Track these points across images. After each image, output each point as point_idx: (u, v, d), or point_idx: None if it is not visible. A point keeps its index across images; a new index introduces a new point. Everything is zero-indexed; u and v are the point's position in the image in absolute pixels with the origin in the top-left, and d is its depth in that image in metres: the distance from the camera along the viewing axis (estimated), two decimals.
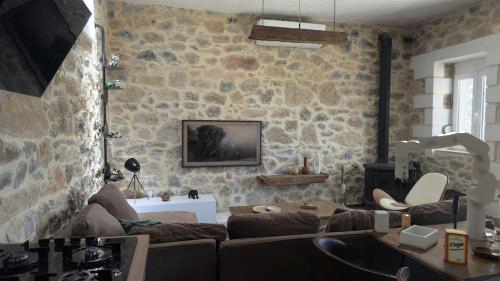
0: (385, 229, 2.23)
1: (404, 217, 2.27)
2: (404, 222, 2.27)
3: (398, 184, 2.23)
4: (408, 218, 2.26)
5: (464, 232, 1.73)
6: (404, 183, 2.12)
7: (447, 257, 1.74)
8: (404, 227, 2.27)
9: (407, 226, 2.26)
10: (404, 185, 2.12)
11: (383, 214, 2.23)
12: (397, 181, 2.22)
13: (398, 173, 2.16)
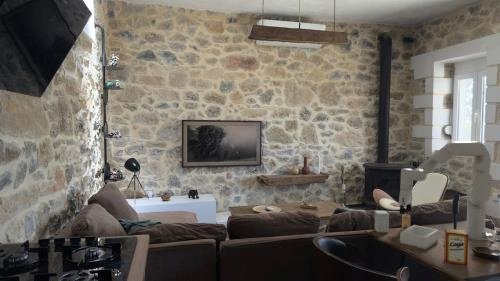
0: (385, 229, 2.23)
1: (404, 217, 2.27)
2: (404, 222, 2.27)
3: None
4: (408, 218, 2.26)
5: (464, 232, 1.73)
6: None
7: (447, 257, 1.74)
8: (404, 227, 2.27)
9: (407, 226, 2.26)
10: None
11: (383, 214, 2.23)
12: None
13: (410, 199, 2.27)
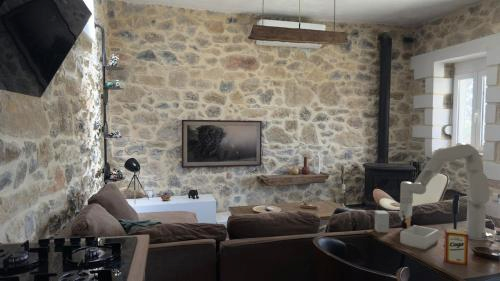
0: (385, 229, 2.23)
1: (404, 217, 2.27)
2: None
3: None
4: (408, 218, 2.26)
5: (464, 232, 1.73)
6: None
7: (447, 257, 1.74)
8: None
9: (407, 226, 2.26)
10: None
11: (383, 214, 2.23)
12: None
13: (410, 212, 2.27)
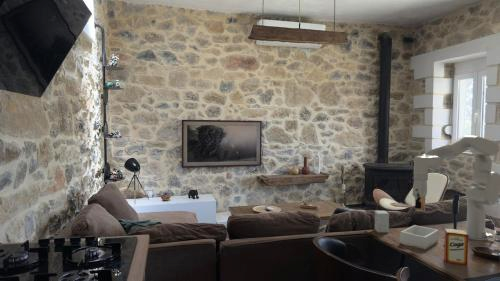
0: (385, 229, 2.23)
1: None
2: None
3: None
4: (423, 197, 2.01)
5: (464, 232, 1.73)
6: None
7: (447, 257, 1.74)
8: None
9: (421, 206, 2.01)
10: None
11: (383, 214, 2.23)
12: None
13: (425, 190, 2.02)
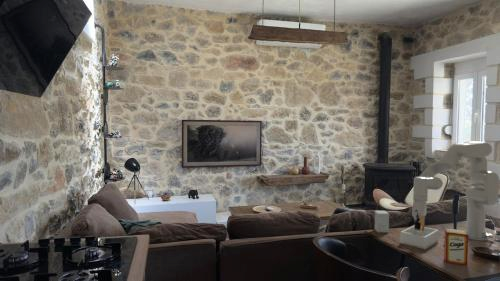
0: (385, 229, 2.23)
1: None
2: None
3: None
4: (422, 218, 2.01)
5: (464, 232, 1.73)
6: None
7: (447, 257, 1.74)
8: None
9: (421, 227, 2.01)
10: None
11: (383, 214, 2.23)
12: None
13: (425, 211, 2.03)
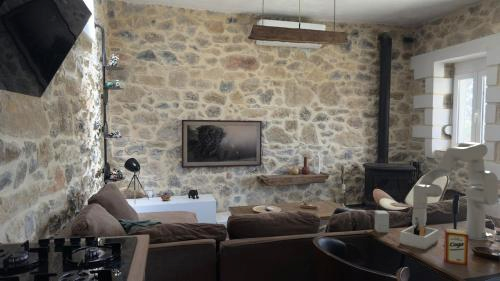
0: (385, 229, 2.23)
1: None
2: None
3: None
4: (422, 228, 2.01)
5: (464, 232, 1.73)
6: None
7: (447, 257, 1.74)
8: None
9: None
10: None
11: (383, 214, 2.23)
12: None
13: (425, 219, 2.03)
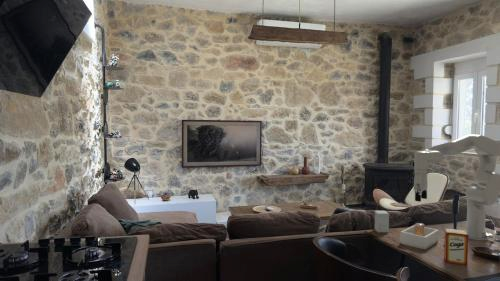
0: (385, 229, 2.23)
1: (417, 227, 2.02)
2: (417, 232, 2.02)
3: None
4: (422, 228, 2.01)
5: (464, 232, 1.73)
6: None
7: (447, 257, 1.74)
8: None
9: None
10: None
11: (383, 214, 2.23)
12: None
13: (426, 185, 2.06)
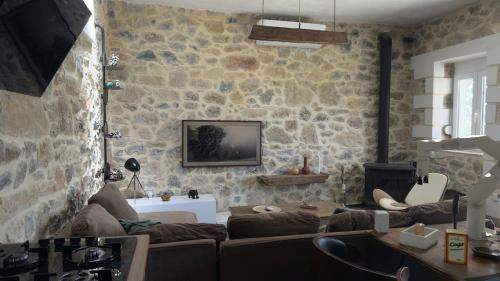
0: (385, 229, 2.23)
1: (417, 227, 2.02)
2: (417, 232, 2.02)
3: None
4: (422, 228, 2.01)
5: (464, 232, 1.73)
6: None
7: (447, 257, 1.74)
8: None
9: None
10: None
11: (383, 214, 2.23)
12: None
13: (427, 170, 2.29)
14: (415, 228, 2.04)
